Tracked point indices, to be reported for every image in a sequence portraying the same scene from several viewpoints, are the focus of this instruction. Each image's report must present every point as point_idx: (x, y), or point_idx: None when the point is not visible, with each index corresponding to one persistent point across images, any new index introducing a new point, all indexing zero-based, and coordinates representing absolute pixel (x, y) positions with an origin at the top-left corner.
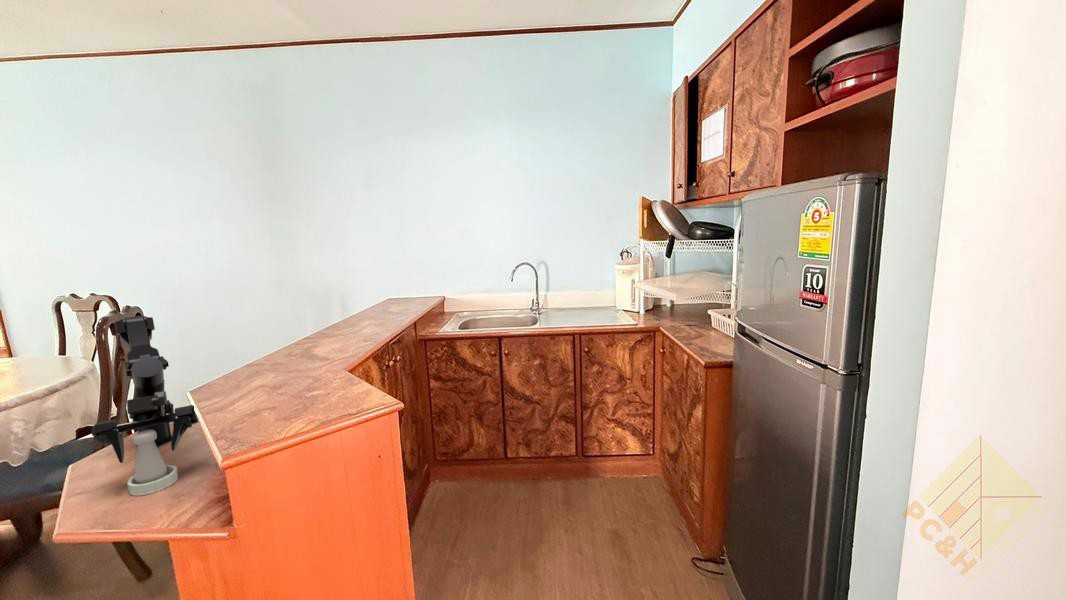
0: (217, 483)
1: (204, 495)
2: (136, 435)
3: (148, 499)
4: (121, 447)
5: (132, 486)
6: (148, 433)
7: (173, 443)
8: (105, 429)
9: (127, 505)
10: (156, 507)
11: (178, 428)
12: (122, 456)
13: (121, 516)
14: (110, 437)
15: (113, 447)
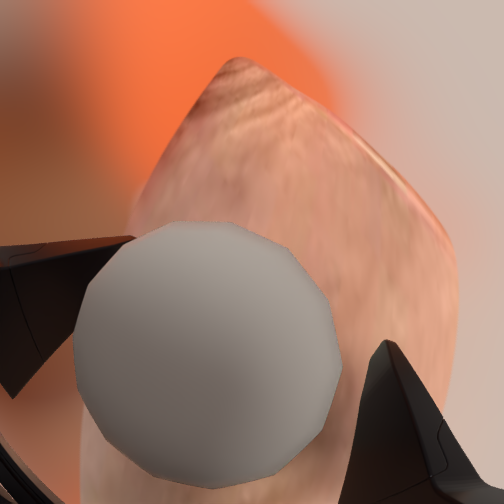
0: (153, 173)
1: (199, 142)
2: (297, 332)
3: (295, 242)
4: (384, 446)
5: None
6: (153, 241)
7: (106, 238)
8: None
9: (346, 260)
10: (291, 175)
11: (5, 251)
12: (380, 373)
13: (363, 206)
14: (493, 496)
15: (448, 426)
